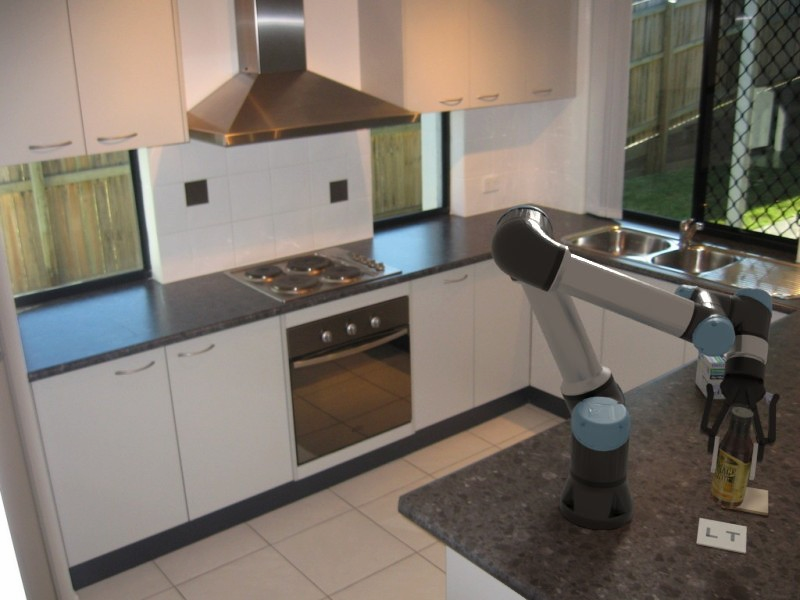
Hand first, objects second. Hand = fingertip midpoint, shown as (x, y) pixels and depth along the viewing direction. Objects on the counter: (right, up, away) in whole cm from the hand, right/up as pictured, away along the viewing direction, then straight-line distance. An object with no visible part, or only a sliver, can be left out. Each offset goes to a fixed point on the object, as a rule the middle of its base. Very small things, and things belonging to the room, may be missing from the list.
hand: (732, 474), depth 160 cm
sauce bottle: (+1, -7, +6) cm, 9 cm away
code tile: (+1, -14, +9) cm, 17 cm away
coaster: (+11, -10, +20) cm, 25 cm away
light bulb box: (+22, +8, +70) cm, 73 cm away
